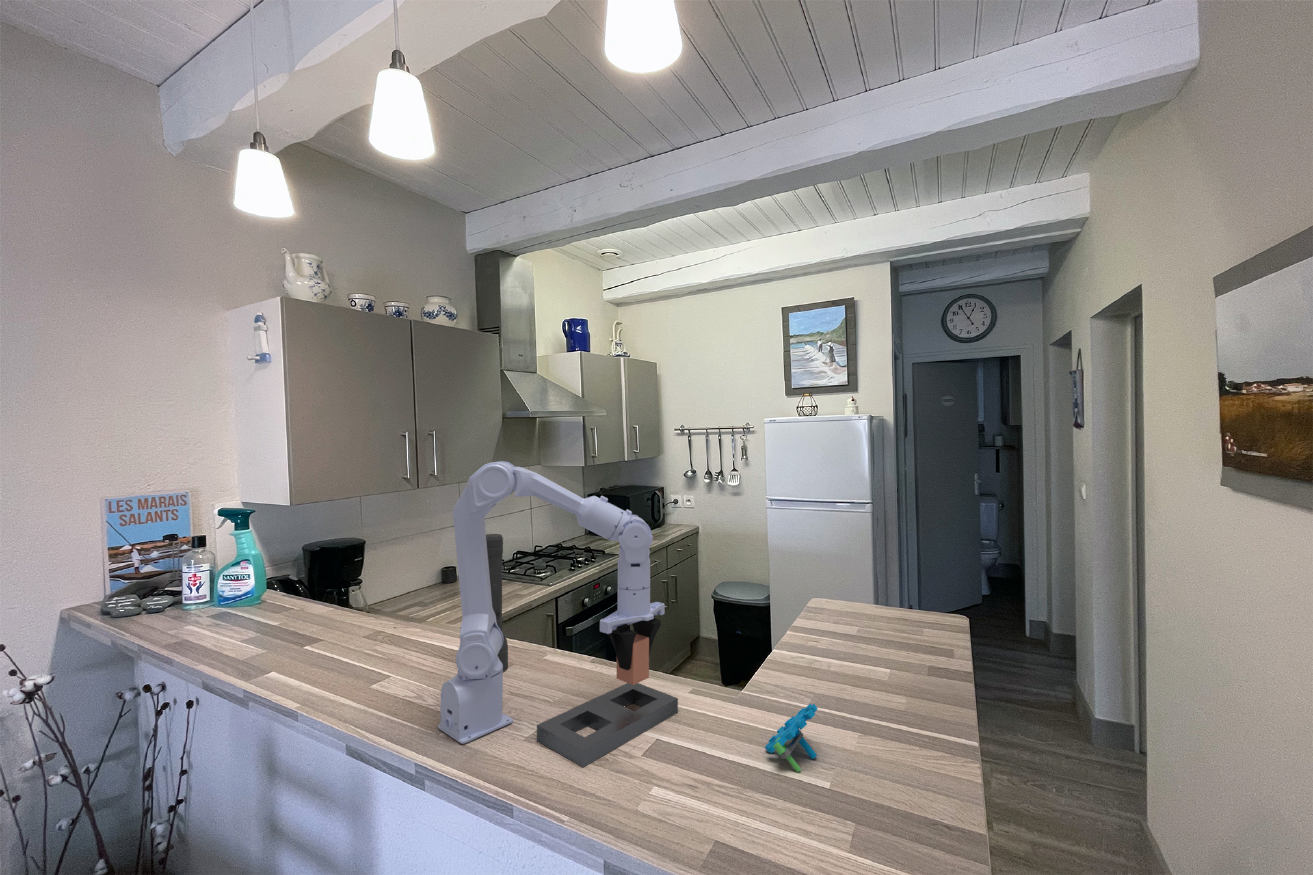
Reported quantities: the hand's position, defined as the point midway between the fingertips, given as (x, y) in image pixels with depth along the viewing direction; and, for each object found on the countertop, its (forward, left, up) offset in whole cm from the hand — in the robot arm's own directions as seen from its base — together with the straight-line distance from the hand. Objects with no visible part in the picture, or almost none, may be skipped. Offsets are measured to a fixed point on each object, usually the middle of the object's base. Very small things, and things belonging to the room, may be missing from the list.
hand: (633, 664), depth 96 cm
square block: (0, 0, -2) cm, 3 cm away
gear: (+6, -27, -9) cm, 29 cm away
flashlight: (-6, +36, -9) cm, 37 cm away
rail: (-6, 0, -9) cm, 10 cm away
